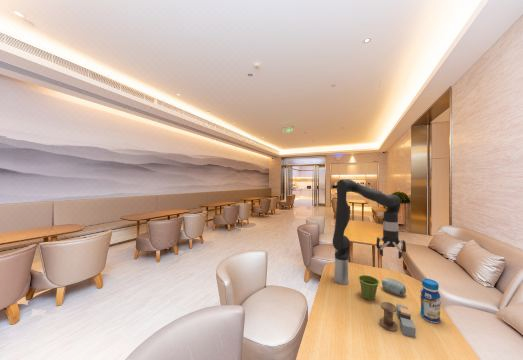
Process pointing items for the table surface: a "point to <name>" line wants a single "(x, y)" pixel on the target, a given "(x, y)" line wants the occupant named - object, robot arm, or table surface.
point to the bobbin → (388, 316)
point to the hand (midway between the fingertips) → (390, 256)
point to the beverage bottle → (430, 301)
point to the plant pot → (368, 286)
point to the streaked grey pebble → (394, 286)
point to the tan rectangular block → (405, 313)
